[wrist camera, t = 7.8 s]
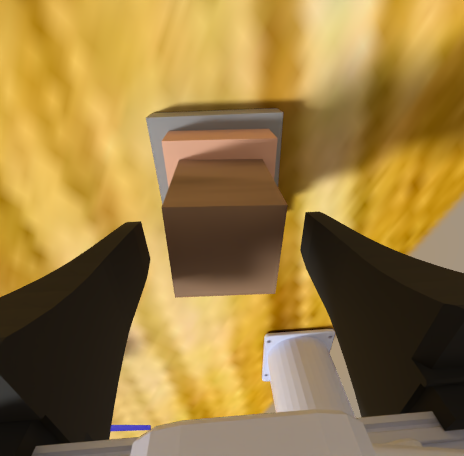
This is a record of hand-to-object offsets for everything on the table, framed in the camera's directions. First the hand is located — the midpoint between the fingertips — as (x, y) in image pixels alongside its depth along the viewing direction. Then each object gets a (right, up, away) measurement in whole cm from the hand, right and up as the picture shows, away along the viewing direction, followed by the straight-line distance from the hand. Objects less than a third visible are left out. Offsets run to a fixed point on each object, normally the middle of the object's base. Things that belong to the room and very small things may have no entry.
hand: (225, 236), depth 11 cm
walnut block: (0, +2, +4) cm, 4 cm away
